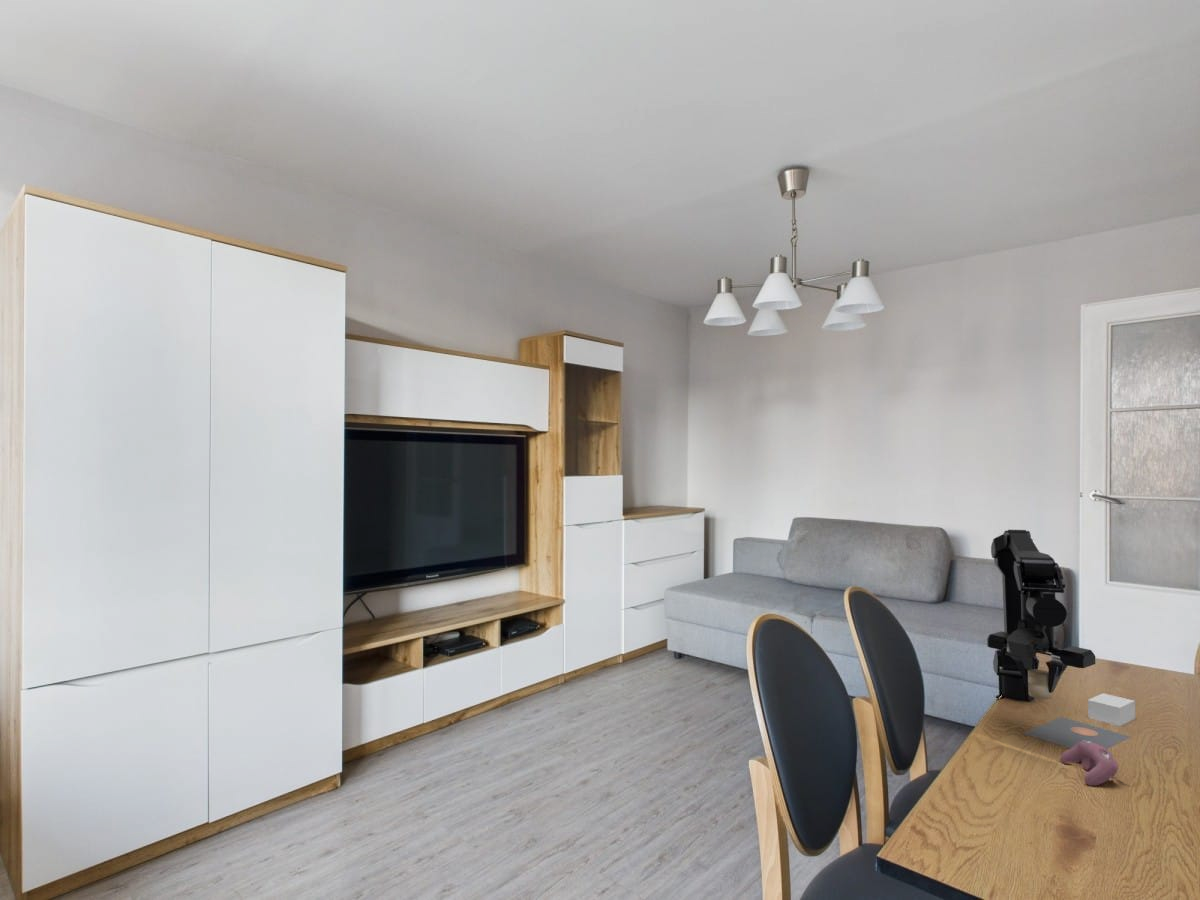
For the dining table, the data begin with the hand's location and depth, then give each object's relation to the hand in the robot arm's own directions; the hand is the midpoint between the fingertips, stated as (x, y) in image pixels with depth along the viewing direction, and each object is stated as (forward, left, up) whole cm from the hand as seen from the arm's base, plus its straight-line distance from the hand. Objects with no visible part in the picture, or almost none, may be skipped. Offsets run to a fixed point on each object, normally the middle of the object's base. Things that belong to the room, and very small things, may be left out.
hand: (1039, 689), depth 137 cm
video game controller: (+13, -10, -11) cm, 19 cm away
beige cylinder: (0, 0, -1) cm, 1 cm away
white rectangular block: (+4, +24, -11) cm, 27 cm away
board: (+4, +7, -11) cm, 13 cm away
